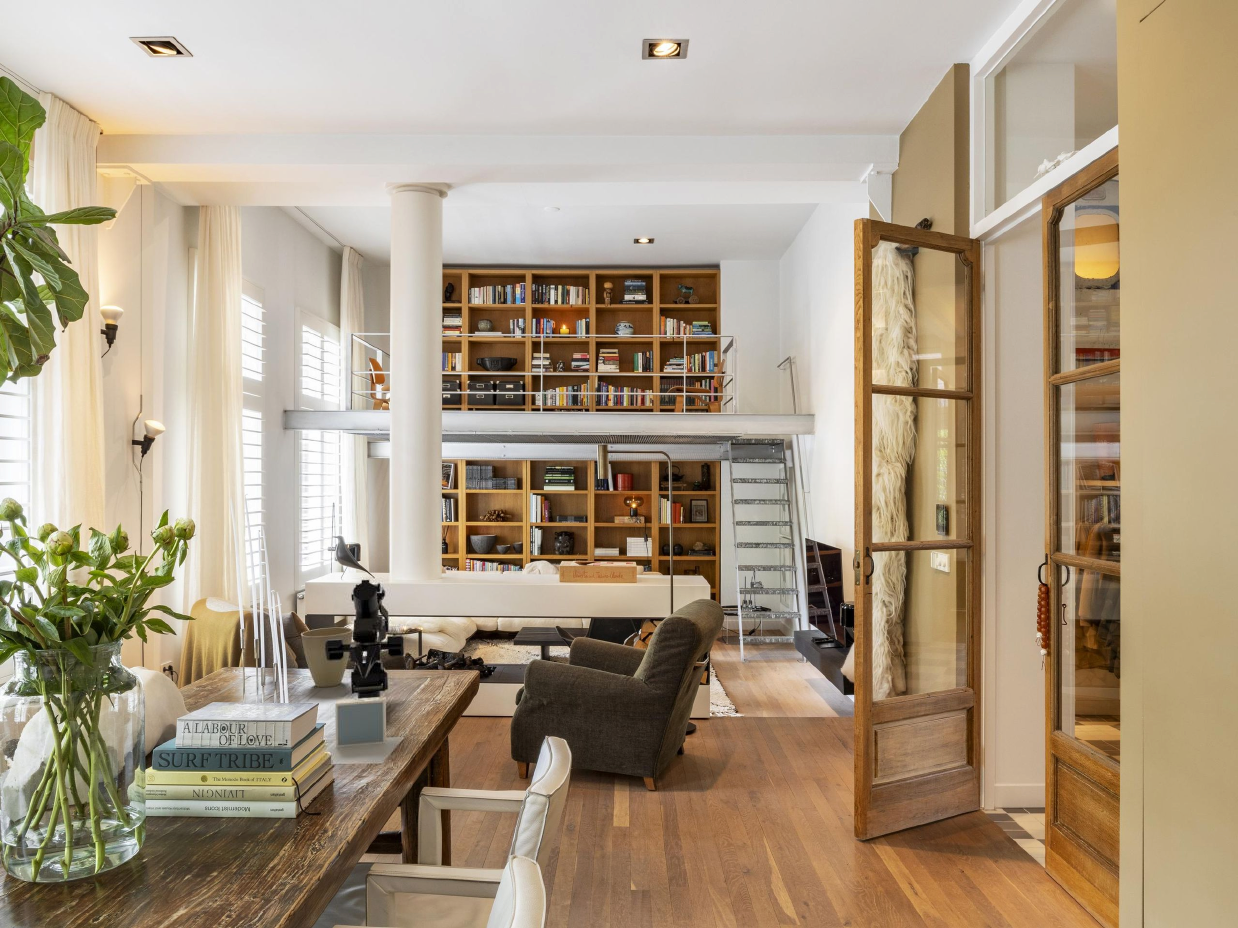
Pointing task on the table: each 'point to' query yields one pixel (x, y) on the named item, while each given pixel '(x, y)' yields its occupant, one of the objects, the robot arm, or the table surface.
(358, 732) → the cream block
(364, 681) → the robot arm
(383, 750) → the mat
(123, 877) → the table surface
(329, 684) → the plant pot
